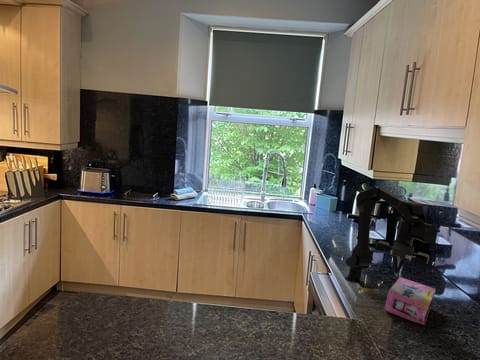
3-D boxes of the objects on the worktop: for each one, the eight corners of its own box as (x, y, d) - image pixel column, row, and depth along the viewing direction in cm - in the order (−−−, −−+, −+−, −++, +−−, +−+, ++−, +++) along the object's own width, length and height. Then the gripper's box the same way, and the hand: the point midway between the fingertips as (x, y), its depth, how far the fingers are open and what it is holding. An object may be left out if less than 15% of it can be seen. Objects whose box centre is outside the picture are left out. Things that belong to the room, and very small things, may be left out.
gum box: (382, 311, 132) (423, 327, 125) (387, 291, 131) (428, 306, 124) (395, 294, 152) (431, 307, 145) (400, 276, 151) (436, 288, 144)
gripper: (376, 230, 137) (367, 269, 139) (430, 245, 127) (419, 287, 129) (382, 226, 146) (374, 263, 149) (433, 240, 136) (423, 279, 139)
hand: (396, 273), depth 141 cm, fingers closed
